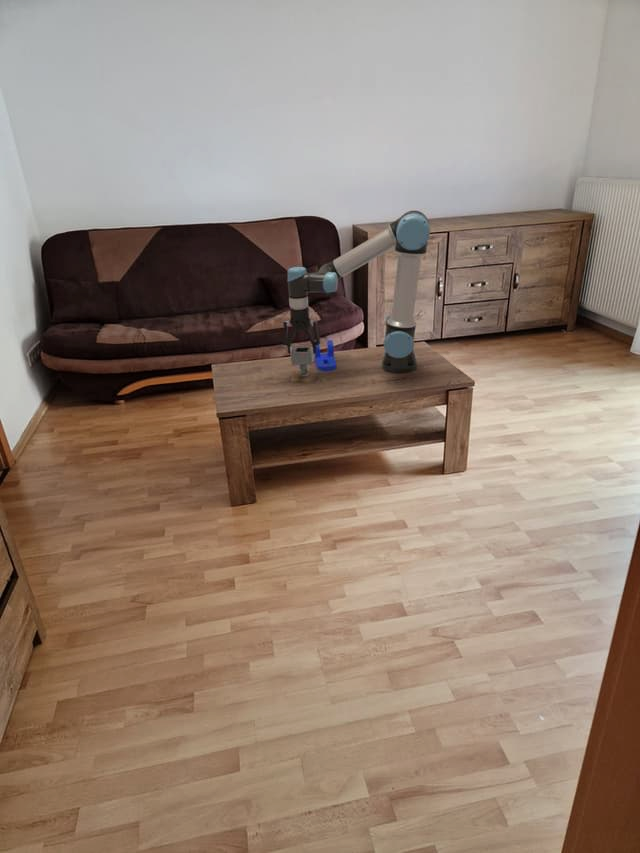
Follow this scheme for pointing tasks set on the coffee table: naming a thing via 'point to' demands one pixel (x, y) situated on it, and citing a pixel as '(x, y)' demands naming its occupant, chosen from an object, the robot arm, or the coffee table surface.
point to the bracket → (325, 358)
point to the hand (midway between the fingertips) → (302, 360)
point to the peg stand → (303, 375)
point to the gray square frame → (301, 356)
